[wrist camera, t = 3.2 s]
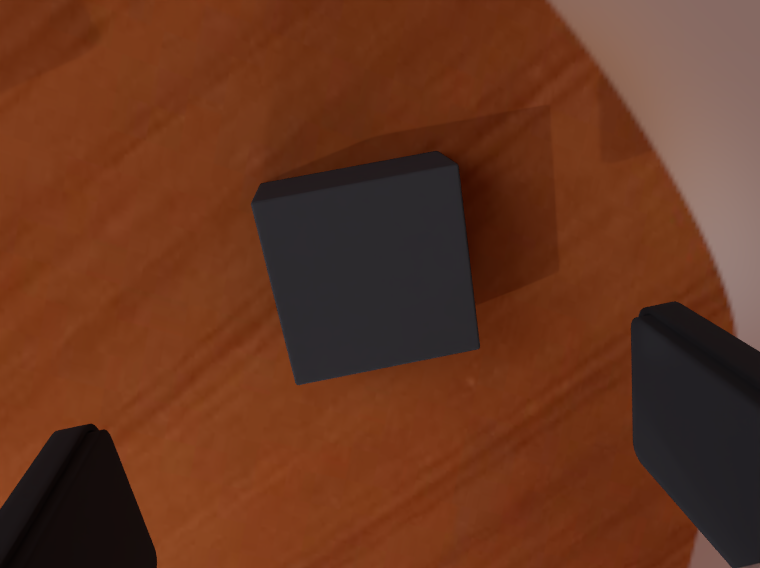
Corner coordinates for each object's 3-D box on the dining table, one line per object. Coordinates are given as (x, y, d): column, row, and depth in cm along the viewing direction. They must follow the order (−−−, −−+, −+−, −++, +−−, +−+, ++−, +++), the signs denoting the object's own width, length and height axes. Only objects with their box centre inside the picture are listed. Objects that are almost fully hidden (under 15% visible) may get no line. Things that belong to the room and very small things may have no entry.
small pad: (438, 149, 20) (458, 163, 17) (459, 313, 22) (480, 349, 19) (259, 183, 19) (249, 202, 17) (298, 345, 21) (296, 386, 19)
